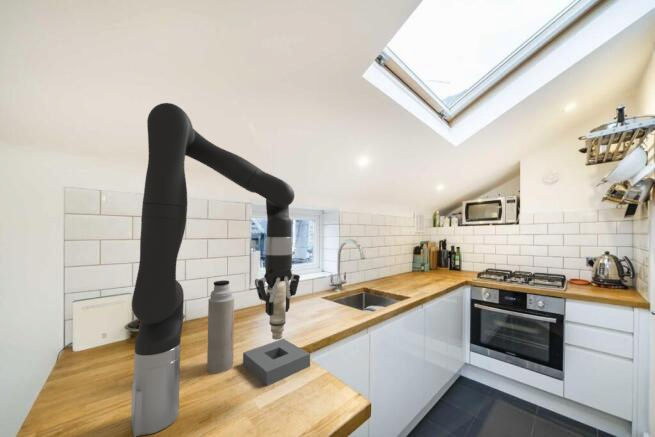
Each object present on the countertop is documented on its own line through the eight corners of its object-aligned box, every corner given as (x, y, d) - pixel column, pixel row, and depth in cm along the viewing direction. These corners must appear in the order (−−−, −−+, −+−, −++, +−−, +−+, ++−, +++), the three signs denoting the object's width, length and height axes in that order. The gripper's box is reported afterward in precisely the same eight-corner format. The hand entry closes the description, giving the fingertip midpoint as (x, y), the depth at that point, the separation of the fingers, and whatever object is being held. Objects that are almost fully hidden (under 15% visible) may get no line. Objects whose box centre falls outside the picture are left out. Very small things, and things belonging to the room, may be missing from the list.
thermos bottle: (235, 359, 89) (236, 278, 90) (230, 372, 81) (231, 283, 83) (211, 361, 88) (212, 279, 89) (203, 374, 80) (205, 284, 81)
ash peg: (274, 342, 69) (275, 282, 70) (266, 337, 72) (267, 280, 73) (288, 337, 72) (289, 280, 73) (279, 332, 76) (280, 278, 76)
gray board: (266, 386, 74) (267, 372, 74) (242, 364, 86) (243, 352, 86) (310, 366, 85) (310, 353, 85) (283, 349, 97) (283, 338, 97)
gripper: (262, 255, 66) (261, 322, 65) (306, 252, 76) (305, 311, 75) (249, 253, 71) (248, 315, 71) (291, 250, 81) (291, 305, 80)
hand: (277, 312), depth 73 cm, fingers closed on ash peg, 4 cm apart
